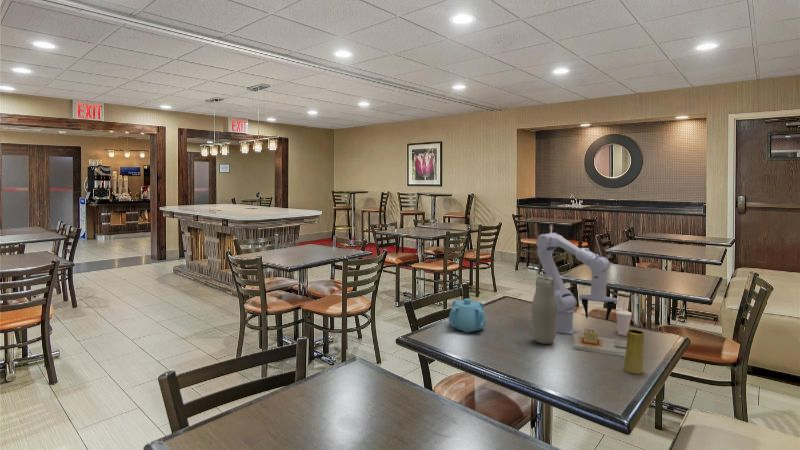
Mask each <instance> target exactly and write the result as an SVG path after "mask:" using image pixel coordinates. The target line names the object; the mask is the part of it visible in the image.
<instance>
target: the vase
mask: <svg viewBox="0 0 800 450" xmlns="http://www.w3.org/2000/svg"><path fill="white" fill-rule="evenodd" d="M626 341H627V345H626V347H625V349H626V355H625V357H624V364H623V370H624V371H625V372H627V373H629V374H633V375H642V374H644V343H645V332H644V331H643V330H640V329H636V328H635V329H634V328H629V330H628V331H627V335H626Z"/></svg>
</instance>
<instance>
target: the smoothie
mask: <svg viewBox="0 0 800 450" xmlns="http://www.w3.org/2000/svg"><path fill="white" fill-rule="evenodd" d="M625 304H626V302H623V304H622V310H616V311H615V314H616V325H617V327H616V328H617V335H620V336H623V337H624V336H625V337H627V331H628V330H629V329H630V324H631V320H632V319H631V318H632V317H633V313H632V312H630V311H627V310H625V306H626V305H625Z"/></svg>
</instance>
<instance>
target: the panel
mask: <svg viewBox="0 0 800 450" xmlns="http://www.w3.org/2000/svg"><path fill="white" fill-rule="evenodd" d="M626 345H627V340H625V339H624V340H623V339H616V338H608V337H601V336H598V339H597V345H592V344H585V343H584V334H578V333H574V336H573V348H572V350H579V351H584V352H592V353H596V354H597V353H598V354H605V355H611V356H618V357H624V358H625V355H626Z"/></svg>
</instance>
